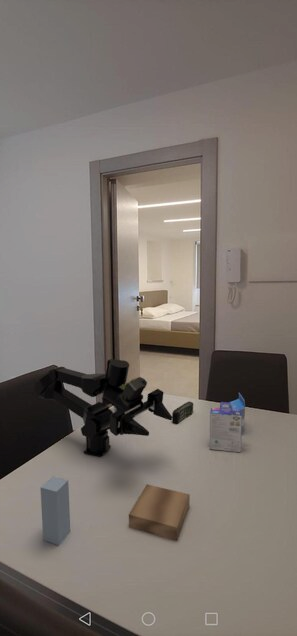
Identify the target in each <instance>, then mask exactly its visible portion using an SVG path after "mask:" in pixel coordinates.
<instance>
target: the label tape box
mask: <svg viewBox="0 0 297 636" xmlns="http://www.w3.org/2000/svg"><path fill="white" fill-rule="evenodd" d="M245 402H246V401H245V399H244V397H243V396H242V394H241V393H240V392H238V398H237V399H235V400H233V401H229V402H228V403H231V405H232V409H240V410H241V414H242V431H241V436H242V435H244V429H245V414H246V404H245ZM228 407H230V406H229V405H228Z"/></svg>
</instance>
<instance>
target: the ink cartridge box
mask: <svg viewBox="0 0 297 636" xmlns="http://www.w3.org/2000/svg"><path fill="white" fill-rule="evenodd" d="M225 405H227V406H225ZM229 406H230V407H229ZM209 413H210V415H209V449H210V450H215V451H226V452H235V453H241V451H242V435H241V431H242V414H241V410H240V409H232V405H231V403H229V402H228V401H227V402H225V401H220V402H219V407H210V411H209Z"/></svg>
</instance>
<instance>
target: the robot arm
mask: <svg viewBox="0 0 297 636" xmlns="http://www.w3.org/2000/svg"><path fill="white" fill-rule="evenodd" d="M129 369H130V363H129V361H127V360H121V359H114V358H110V359H107V362H106V371H105V373H91V374H90V373H83V372H82V371H81V372H80V371H76V370H72V369H69V368H67V367H65V366H58V367H54V368H52V369H51V370H49V371H48V372H47V374H46V375H44V376H43V377H41V378H40V379H39V380H36V382H35V384H34V386H33V387H34V388H33V389H34V393H35V394H36V395H37V396H38V397H39V398H41V399H44V400H51V401H52V400H53V401H55V402H57V403H58V404H60V405H61V406H63V407H64V408H66V409H68V410H69V411H70V412H72V413H74V414H75V415H77V416H79V417H80V418H81V419H82V420H83V424H84V425H83V426H82V427H81V428H80V432H81V435H82V436H83V437H85V445H86V447H85V448H86V449H84V450H83V454H85V455H91V456H95V457H103V456H104V455H105V454H106V453H107V452H108V450H109V449H110V448H111V447H112V446H111V444H110V436H109V435H108V434H109V433H108V432H110V433H111V434H113V436H116V437H118V435H120V436H123V435H133V436H134V435H136V436H144V437H145V436H146V437H149V435H150V432H149V430H148V429H147V428H146V427H145V426H143V425H141V424H140V423H139V422H138V421H136V420H135V419H134V418H135V417H138V416H139V415H141V414H143V413H144V412H146V411H147V410H148V411H149V412H150V413H152V414H153V415H154V416H157V417H160V418H162V419H165V420H168V421H172V414H171V413H170V412H169V410H168V409H167V408H166V406H165V404H164V403H163V400H164V391H163V390H161V389H159V388H156V389H154V390H153V391H152V390H151V392H149V393H147V400H146V401H144V402H143V400H144V395H143V394H142V393H143V392H144V389H146V386H147V385H148V382H147V380H146V379H145V378H143V377H141V376H139V377H138V378H137V377H135V378H136V379H134V380H133V381H131V380H129V381H128V382H127V380H128V375H129ZM63 383H64V384H66V385H69V386H72V387H73V386H74V387H76V388H79V389H81V392H83V393H84V394H85V395H87V396H90V397H91V398H95V397H97V396H100V395H102V397H101V401H98V402H96V403H94V404H91V403H89V402H87V401H86V400H84V399H83V398H82V397H79V396H78V395H76V394H75V393H73V392H71V391H69V390H67V389H66V388H64V386H63ZM125 383H127V385H125V389H123V388H122V387H120V386H122V385H123V384H125ZM109 405H112V406H113V408H114V407H116V408H117V410H116V412H115V411H114V412H113V410H112V409H110V406H109Z"/></svg>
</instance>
